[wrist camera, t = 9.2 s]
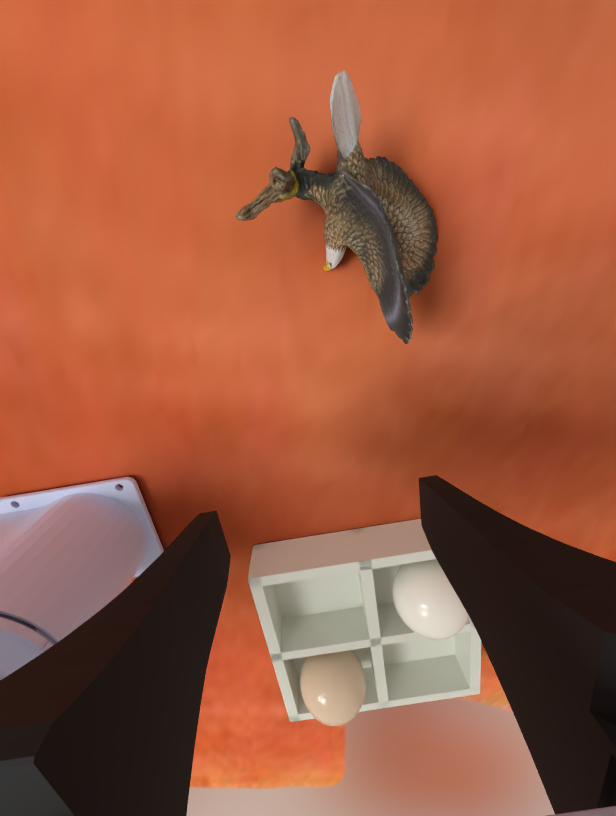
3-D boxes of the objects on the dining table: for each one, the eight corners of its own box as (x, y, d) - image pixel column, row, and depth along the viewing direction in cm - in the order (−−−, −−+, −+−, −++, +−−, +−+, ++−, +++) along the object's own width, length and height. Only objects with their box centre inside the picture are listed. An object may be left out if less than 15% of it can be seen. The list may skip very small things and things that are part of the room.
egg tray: (290, 680, 29) (290, 721, 27) (253, 545, 24) (247, 578, 21) (461, 654, 29) (479, 693, 26) (461, 512, 24) (483, 541, 21)
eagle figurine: (236, 277, 17) (381, 371, 17) (230, 135, 10) (471, 293, 10) (309, 187, 19) (437, 271, 20) (345, 22, 12) (541, 154, 13)
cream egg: (383, 602, 25) (417, 669, 21) (377, 552, 24) (414, 613, 19) (441, 582, 26) (487, 642, 22) (439, 532, 24) (489, 586, 20)
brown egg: (304, 671, 28) (306, 746, 24) (294, 631, 27) (294, 703, 22) (362, 662, 28) (375, 737, 24) (355, 621, 27) (368, 692, 22)
